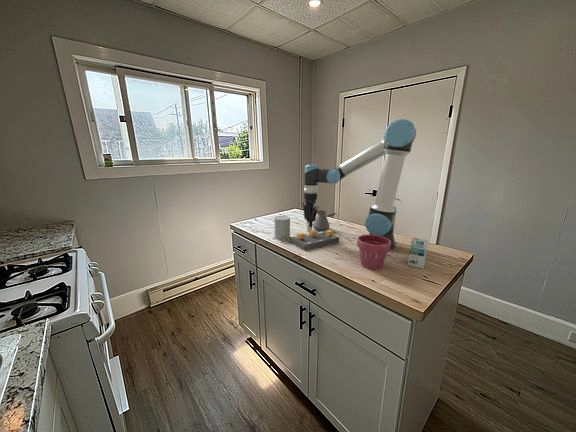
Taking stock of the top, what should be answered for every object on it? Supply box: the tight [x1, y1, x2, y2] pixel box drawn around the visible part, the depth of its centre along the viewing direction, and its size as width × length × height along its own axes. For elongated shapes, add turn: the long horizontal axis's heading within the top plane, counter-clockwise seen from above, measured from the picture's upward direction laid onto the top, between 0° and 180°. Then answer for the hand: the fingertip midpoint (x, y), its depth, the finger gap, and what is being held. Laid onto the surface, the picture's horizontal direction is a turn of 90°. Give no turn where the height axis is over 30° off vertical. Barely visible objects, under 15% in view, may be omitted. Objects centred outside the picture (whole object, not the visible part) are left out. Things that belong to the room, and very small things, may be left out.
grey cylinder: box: [273, 215, 291, 241], centre depth 143 cm, size 10×10×12 cm
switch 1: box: [296, 231, 306, 239], centre depth 133 cm, size 3×3×3 cm
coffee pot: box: [312, 209, 339, 232], centre depth 154 cm, size 21×12×15 cm, turn 26°
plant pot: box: [356, 234, 391, 271], centre depth 107 cm, size 14×14×13 cm
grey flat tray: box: [289, 230, 340, 251], centre depth 137 cm, size 14×25×3 cm, turn 122°
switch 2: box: [308, 229, 318, 237], centre depth 138 cm, size 3×3×3 cm
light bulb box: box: [407, 237, 429, 269], centre depth 111 cm, size 11×7×11 cm, turn 148°
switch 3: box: [325, 229, 334, 237], centre depth 138 cm, size 3×3×3 cm
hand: (309, 231), depth 141 cm, fingers closed
